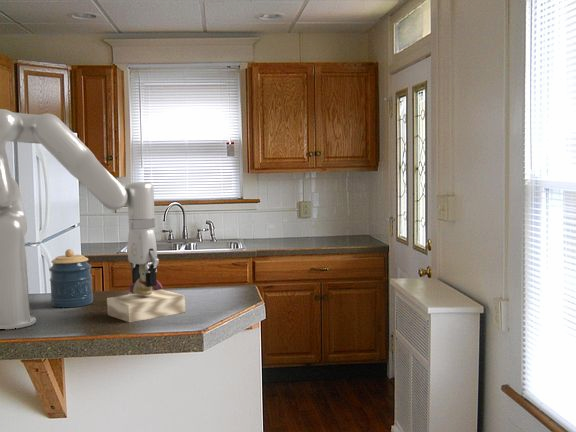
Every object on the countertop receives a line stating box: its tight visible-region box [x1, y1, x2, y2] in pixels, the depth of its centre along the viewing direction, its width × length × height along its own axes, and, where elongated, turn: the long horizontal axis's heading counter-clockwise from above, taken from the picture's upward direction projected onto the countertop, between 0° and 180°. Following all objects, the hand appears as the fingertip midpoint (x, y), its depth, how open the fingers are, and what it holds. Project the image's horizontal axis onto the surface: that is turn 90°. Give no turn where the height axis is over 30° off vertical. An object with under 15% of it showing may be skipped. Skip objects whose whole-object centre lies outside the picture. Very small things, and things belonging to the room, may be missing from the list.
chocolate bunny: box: [134, 265, 153, 295], centre depth 214 cm, size 6×8×10 cm
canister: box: [48, 248, 94, 309], centre depth 231 cm, size 13×13×18 cm
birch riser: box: [106, 289, 186, 323], centre depth 214 cm, size 18×14×5 cm
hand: (144, 284), depth 213 cm, fingers closed on chocolate bunny, 7 cm apart
